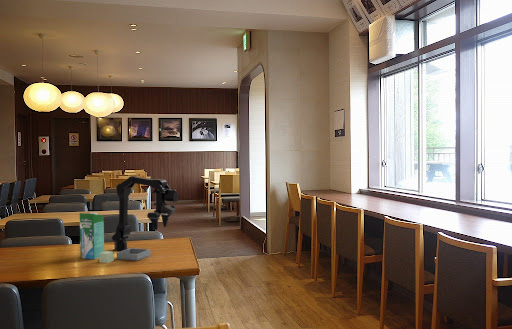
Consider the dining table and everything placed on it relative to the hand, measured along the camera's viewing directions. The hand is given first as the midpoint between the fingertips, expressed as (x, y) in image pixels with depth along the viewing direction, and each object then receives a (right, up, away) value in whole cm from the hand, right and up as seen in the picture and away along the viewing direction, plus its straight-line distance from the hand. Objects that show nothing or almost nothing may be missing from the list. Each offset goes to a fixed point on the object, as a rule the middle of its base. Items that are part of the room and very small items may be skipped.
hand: (160, 228), depth 265 cm
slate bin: (-13, -15, -9) cm, 22 cm away
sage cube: (-25, -15, -17) cm, 34 cm away
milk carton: (-36, -15, -7) cm, 40 cm away
